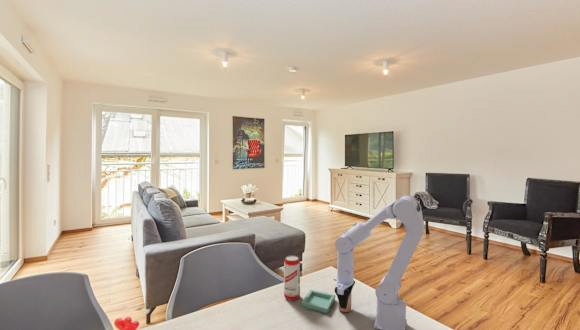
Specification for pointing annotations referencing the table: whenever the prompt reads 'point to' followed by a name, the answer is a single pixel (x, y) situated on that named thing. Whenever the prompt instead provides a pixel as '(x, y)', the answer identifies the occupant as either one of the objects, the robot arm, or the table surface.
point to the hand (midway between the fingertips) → (344, 304)
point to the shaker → (347, 305)
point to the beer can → (292, 278)
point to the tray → (318, 301)
